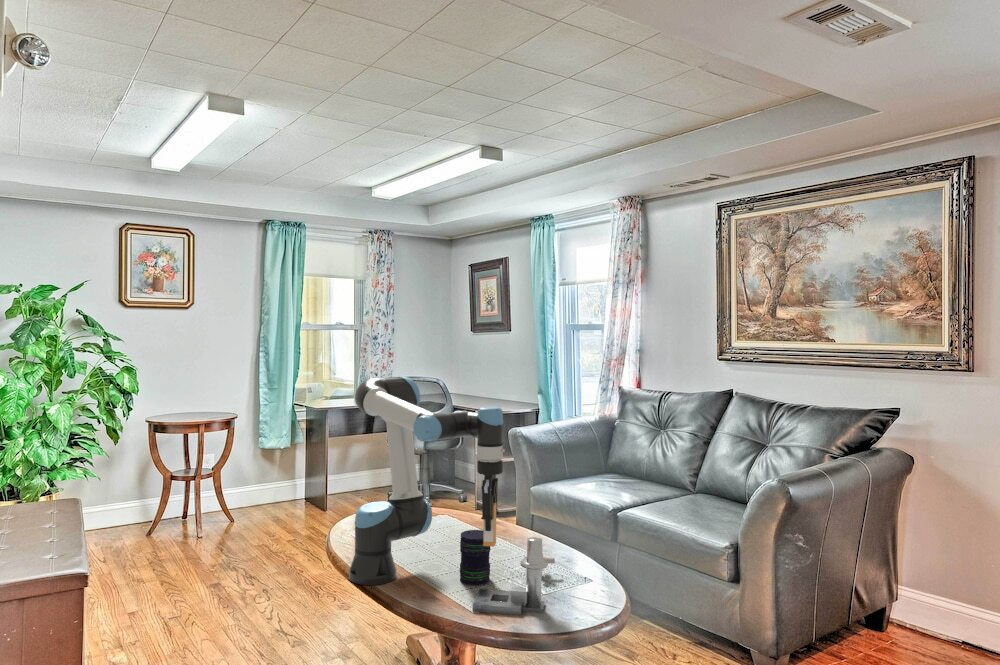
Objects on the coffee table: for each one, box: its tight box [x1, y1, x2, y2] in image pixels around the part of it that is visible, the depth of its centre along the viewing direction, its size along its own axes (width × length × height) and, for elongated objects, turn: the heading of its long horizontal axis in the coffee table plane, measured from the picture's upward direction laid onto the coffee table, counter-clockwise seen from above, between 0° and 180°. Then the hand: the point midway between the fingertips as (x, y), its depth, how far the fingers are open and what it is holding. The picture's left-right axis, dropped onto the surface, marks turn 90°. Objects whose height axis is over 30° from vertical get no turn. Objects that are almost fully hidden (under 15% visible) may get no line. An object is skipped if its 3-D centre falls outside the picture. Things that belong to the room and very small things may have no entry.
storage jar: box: [459, 529, 492, 587], centre depth 225 cm, size 10×10×15 cm
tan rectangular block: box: [482, 503, 497, 547], centre depth 206 cm, size 3×3×12 cm
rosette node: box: [472, 536, 549, 616], centre depth 205 cm, size 21×12×20 cm, turn 81°
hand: (489, 539), depth 206 cm, fingers closed on tan rectangular block, 3 cm apart
